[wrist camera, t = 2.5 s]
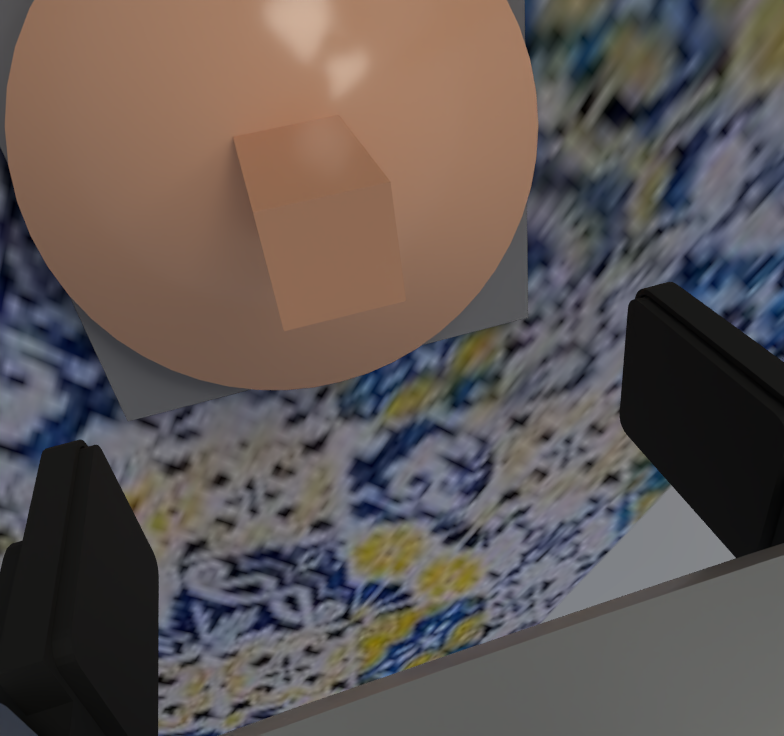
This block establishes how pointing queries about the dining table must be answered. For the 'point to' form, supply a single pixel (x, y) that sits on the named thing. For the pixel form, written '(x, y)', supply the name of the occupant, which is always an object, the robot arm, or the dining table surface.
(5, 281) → the dining table surface
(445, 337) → the mat
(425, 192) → the lid
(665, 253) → the dining table surface
